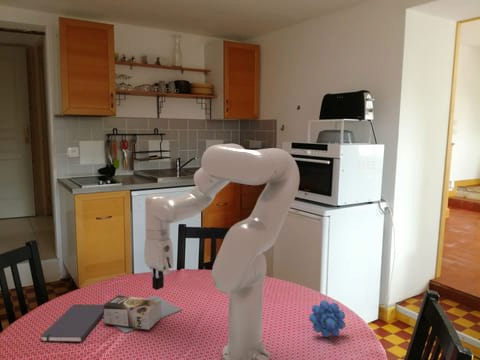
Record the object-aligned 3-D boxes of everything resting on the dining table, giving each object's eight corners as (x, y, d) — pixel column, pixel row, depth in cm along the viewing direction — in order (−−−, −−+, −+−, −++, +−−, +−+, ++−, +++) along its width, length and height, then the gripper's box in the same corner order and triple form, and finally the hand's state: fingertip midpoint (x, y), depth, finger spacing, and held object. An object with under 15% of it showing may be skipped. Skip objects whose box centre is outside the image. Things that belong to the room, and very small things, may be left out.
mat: (181, 310, 139) (181, 309, 139) (125, 333, 123) (125, 332, 123) (155, 296, 150) (155, 295, 150) (100, 316, 134) (100, 314, 134)
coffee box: (149, 310, 123) (102, 304, 127) (149, 330, 124) (103, 323, 127) (161, 299, 132) (117, 294, 136) (161, 318, 133) (118, 312, 136)
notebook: (81, 342, 118) (109, 308, 139) (81, 337, 117) (108, 304, 138) (40, 341, 118) (73, 308, 139) (39, 336, 118) (73, 304, 139)
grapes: (312, 345, 119) (314, 307, 117) (306, 333, 125) (307, 297, 123) (349, 343, 120) (352, 306, 118) (341, 332, 126) (343, 296, 125)
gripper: (181, 235, 123) (181, 291, 126) (154, 226, 133) (154, 278, 136) (161, 240, 117) (162, 299, 120) (134, 230, 128) (135, 284, 130)
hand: (158, 287), depth 128 cm, fingers closed
